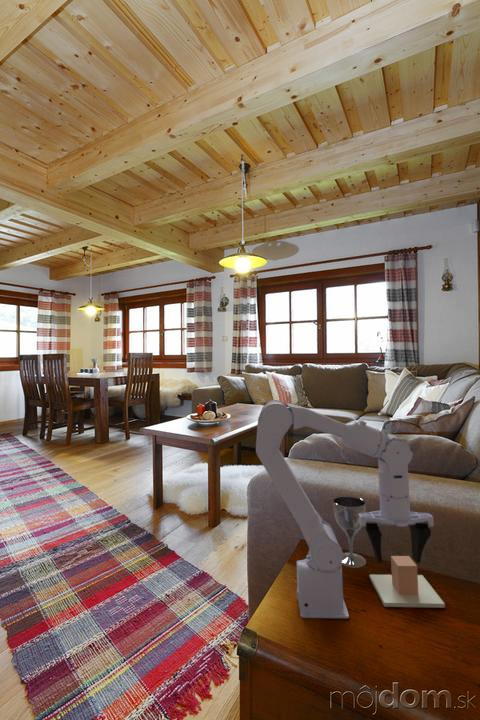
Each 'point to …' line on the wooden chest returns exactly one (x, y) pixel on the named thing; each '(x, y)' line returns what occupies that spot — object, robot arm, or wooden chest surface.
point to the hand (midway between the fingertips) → (397, 560)
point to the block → (404, 575)
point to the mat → (393, 599)
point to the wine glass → (349, 525)
